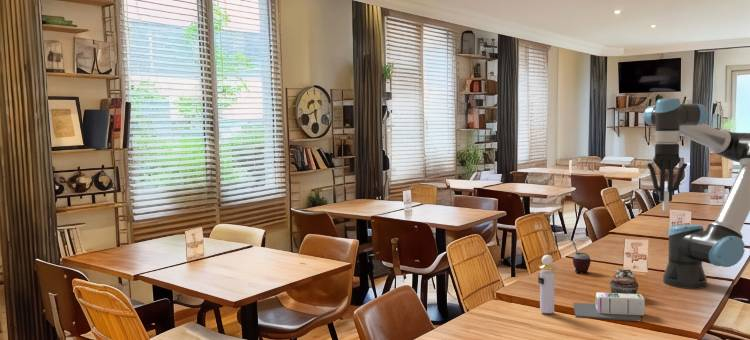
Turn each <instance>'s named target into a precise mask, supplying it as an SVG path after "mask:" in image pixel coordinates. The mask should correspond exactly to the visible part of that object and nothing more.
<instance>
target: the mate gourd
mask: <svg viewBox="0 0 750 340" xmlns="http://www.w3.org/2000/svg"><path fill="white" fill-rule="evenodd" d="M567 239H568V240H569V241H570V242H571V243H572V244H573V247H574V249H575V254H573V257H572V263H573V267H574V269H575V270H574V272H575V274H576V275H579V274H584V275H588V274H589V272H588V271H589V268H590V266H591V257H590V255H589V254H588V253H586V252H579V251H578V249H577V246H576V243H575V242H574V240H573V239H571V238H569V237H567Z"/></svg>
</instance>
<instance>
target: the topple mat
mask: <svg viewBox="0 0 750 340" xmlns="http://www.w3.org/2000/svg"><path fill="white" fill-rule="evenodd" d="M573 304H574V305H573ZM573 304H572V305H573V311H574V316H575V318H582V319H583V318H584V319H586V318H587V319H596V320H597V319H600V320H610V321H611V320H612V321H613V320H614V321H627V322H629V321H630V322H639V321H638V320H641V321H642V318H641V315H623V314H604V313H598V311H597V309H596V303H590V302H589V303H588V302H586V303H584V302H573ZM635 320H637V321H635Z"/></svg>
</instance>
